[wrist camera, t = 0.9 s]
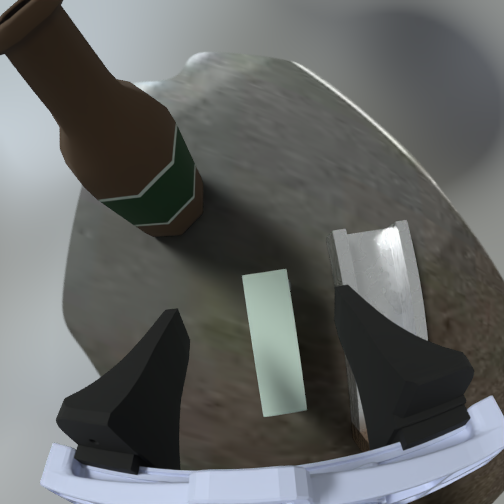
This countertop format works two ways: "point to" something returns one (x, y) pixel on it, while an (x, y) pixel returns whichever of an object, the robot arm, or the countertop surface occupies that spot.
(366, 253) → the rail
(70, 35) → the beer bottle
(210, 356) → the countertop surface
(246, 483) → the robot arm
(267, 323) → the door panel
